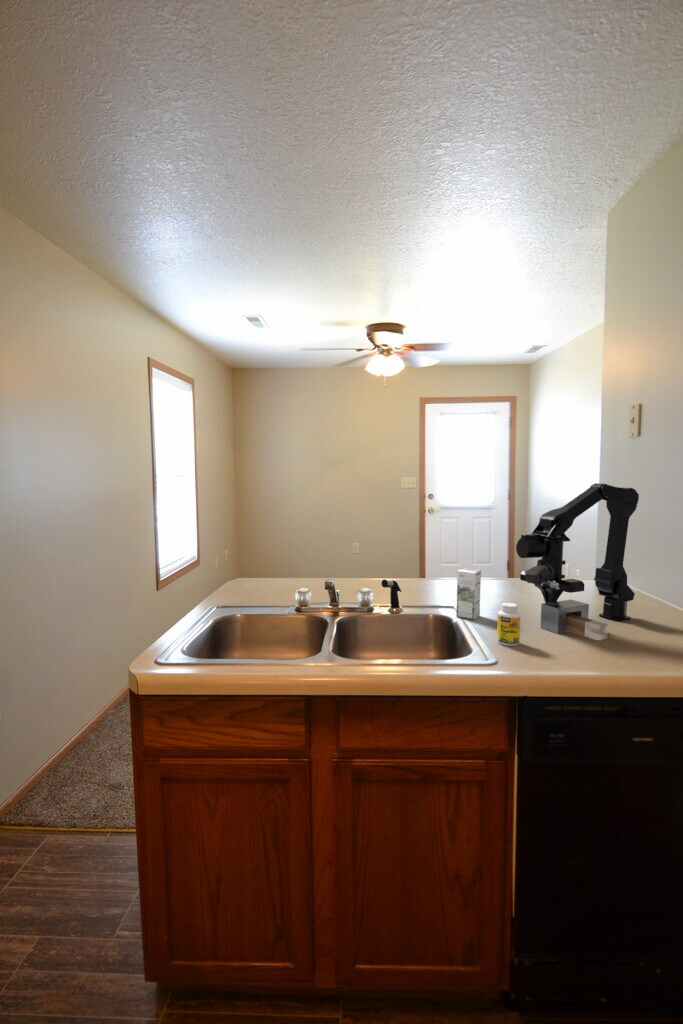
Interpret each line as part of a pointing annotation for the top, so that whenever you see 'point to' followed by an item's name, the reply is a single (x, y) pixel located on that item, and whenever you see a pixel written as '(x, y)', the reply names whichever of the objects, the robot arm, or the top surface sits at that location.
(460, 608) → the syrup box
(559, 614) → the grey u-shaped block
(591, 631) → the plug rod
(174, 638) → the top surface
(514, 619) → the supplement bottle
